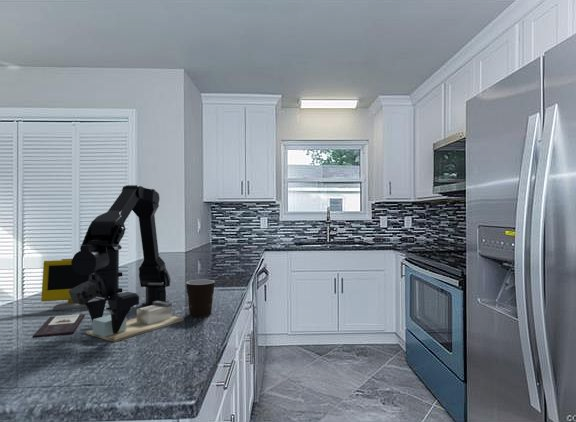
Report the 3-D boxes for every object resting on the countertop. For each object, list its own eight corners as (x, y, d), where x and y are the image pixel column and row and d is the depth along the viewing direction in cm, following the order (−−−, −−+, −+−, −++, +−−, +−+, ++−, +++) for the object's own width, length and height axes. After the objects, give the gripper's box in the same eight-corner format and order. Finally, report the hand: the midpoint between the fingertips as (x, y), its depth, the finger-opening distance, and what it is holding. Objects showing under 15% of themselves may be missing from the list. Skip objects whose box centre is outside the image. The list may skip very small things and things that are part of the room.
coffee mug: (207, 319, 111) (208, 285, 111) (180, 317, 113) (180, 283, 113) (222, 309, 123) (222, 278, 123) (197, 308, 124) (197, 277, 124)
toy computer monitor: (41, 311, 119) (41, 261, 119) (45, 306, 126) (45, 258, 126) (111, 305, 127) (111, 258, 127) (111, 300, 134) (111, 256, 134)
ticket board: (85, 333, 98) (86, 314, 98) (155, 314, 116) (155, 298, 116) (114, 342, 91) (114, 321, 91) (183, 320, 110) (183, 303, 110)
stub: (92, 333, 95) (92, 319, 95) (114, 327, 101) (114, 313, 101) (104, 336, 93) (104, 322, 93) (126, 330, 98) (126, 316, 98)
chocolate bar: (32, 335, 94) (50, 316, 111) (32, 339, 94) (50, 320, 111) (73, 331, 97) (84, 314, 114) (73, 335, 97) (84, 317, 114)
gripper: (53, 270, 94) (52, 333, 94) (98, 276, 84) (97, 347, 84) (96, 264, 103) (95, 322, 103) (140, 270, 94) (140, 333, 94)
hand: (106, 330), depth 96 cm, fingers open, 7 cm apart
